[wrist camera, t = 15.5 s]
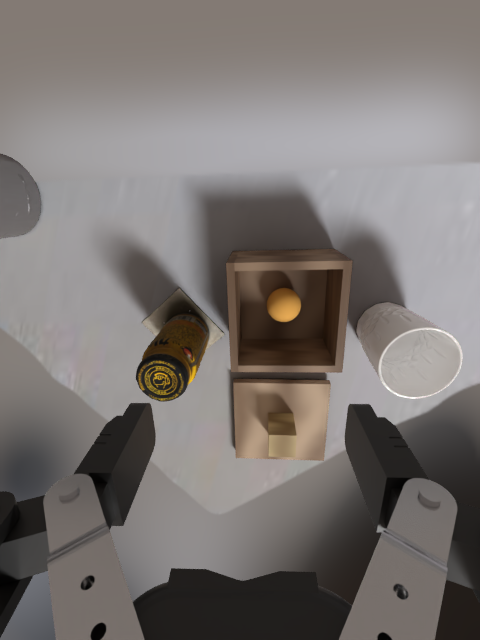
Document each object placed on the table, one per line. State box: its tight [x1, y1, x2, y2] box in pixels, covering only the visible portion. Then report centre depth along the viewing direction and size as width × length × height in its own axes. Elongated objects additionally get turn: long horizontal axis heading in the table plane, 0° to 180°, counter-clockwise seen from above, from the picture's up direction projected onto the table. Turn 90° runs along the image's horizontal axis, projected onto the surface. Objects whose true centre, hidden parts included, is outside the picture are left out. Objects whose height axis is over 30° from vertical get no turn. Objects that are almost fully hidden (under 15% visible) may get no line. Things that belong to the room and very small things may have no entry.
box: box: [226, 249, 353, 372], centre depth 36 cm, size 12×12×8 cm
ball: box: [267, 288, 301, 322], centre depth 37 cm, size 4×4×4 cm
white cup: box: [356, 302, 463, 398], centre depth 36 cm, size 8×8×10 cm
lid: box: [233, 379, 331, 461], centre depth 43 cm, size 13×13×6 cm
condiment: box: [136, 289, 225, 401], centre depth 36 cm, size 7×8×12 cm
